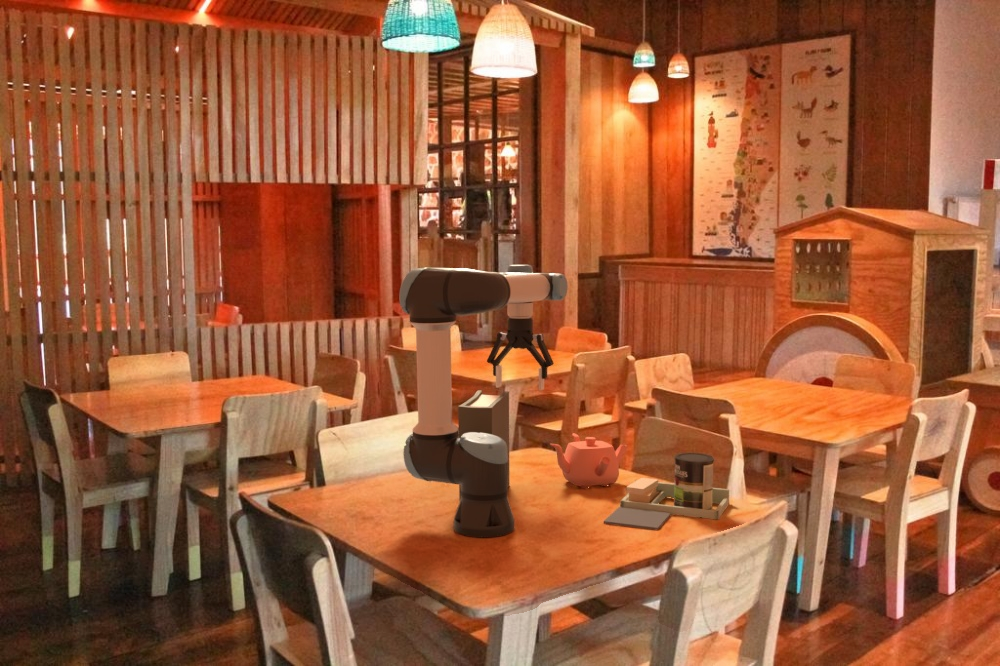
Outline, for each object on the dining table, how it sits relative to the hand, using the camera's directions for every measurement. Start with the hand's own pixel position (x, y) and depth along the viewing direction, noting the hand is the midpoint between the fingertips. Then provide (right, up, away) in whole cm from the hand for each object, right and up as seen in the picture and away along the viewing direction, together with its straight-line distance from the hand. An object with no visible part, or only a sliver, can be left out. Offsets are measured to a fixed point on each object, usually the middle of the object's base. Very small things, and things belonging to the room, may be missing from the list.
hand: (519, 388), depth 283 cm
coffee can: (+46, -31, -28) cm, 62 cm away
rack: (+41, -30, -26) cm, 57 cm away
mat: (+30, -32, -38) cm, 57 cm away
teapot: (+20, -28, -2) cm, 35 cm away
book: (-10, -29, -14) cm, 34 cm away
